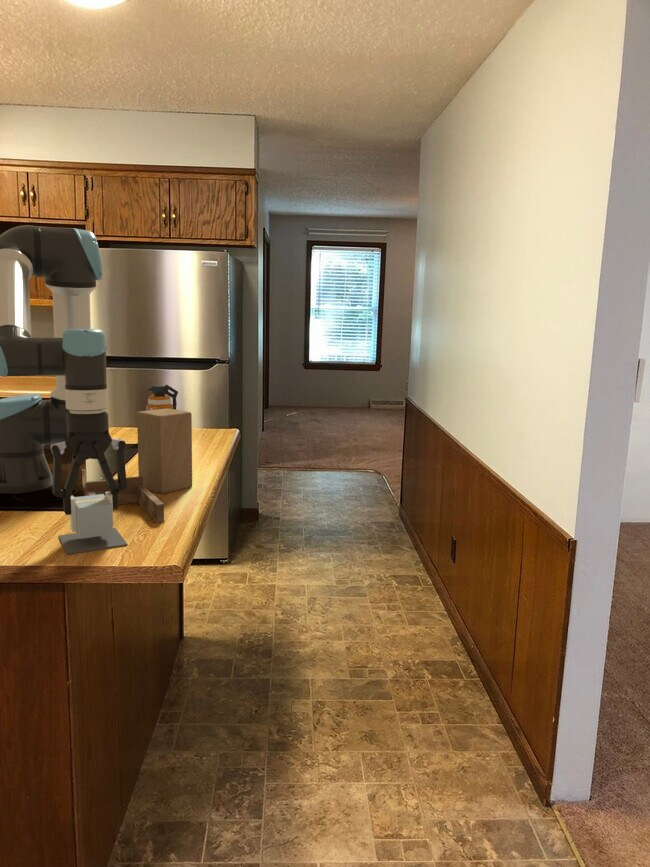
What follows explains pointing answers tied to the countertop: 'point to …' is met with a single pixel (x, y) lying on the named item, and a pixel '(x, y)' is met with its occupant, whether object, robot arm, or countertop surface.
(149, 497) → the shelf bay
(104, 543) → the mat
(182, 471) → the wooden block
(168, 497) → the countertop surface
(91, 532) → the block
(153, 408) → the orange rounded handled piece
